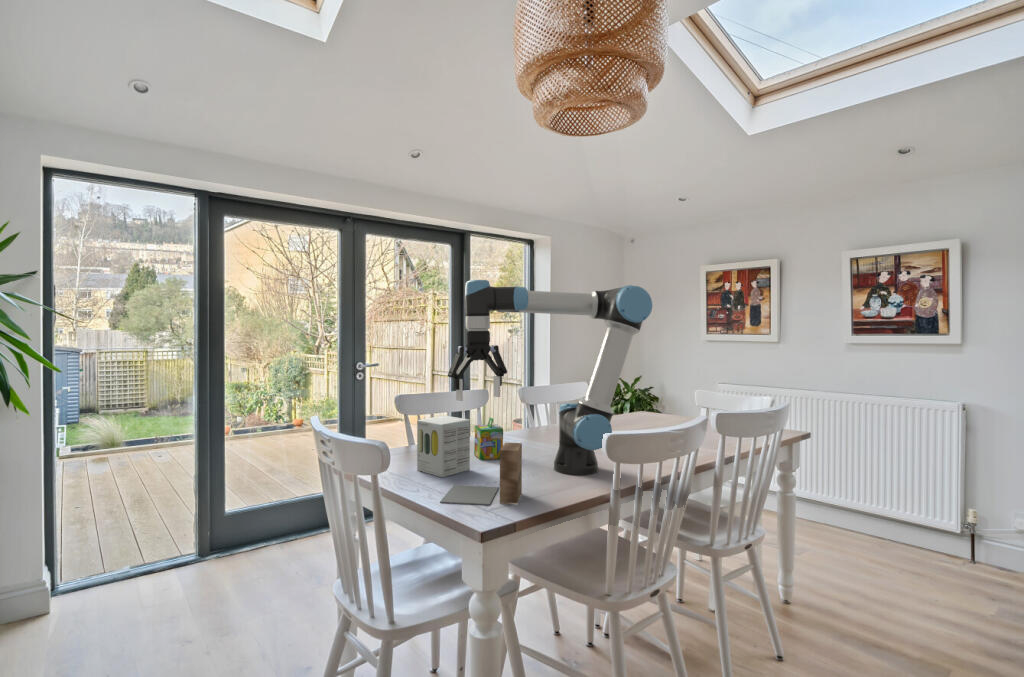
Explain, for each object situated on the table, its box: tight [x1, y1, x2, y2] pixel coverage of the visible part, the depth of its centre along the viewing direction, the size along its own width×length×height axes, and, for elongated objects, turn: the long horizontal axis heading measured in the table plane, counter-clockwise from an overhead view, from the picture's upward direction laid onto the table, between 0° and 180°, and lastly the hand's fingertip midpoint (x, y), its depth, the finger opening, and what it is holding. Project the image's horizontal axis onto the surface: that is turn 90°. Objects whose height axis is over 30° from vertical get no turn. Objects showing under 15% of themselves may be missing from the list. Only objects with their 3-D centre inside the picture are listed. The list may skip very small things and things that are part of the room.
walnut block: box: [499, 442, 523, 506], centre depth 156 cm, size 5×10×15 cm, turn 173°
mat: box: [439, 484, 500, 506], centre depth 159 cm, size 14×16×1 cm
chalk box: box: [473, 417, 504, 461], centre depth 205 cm, size 9×9×15 cm
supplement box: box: [416, 415, 471, 478], centre depth 186 cm, size 13×13×18 cm
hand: (478, 398), depth 169 cm, fingers open, 13 cm apart
